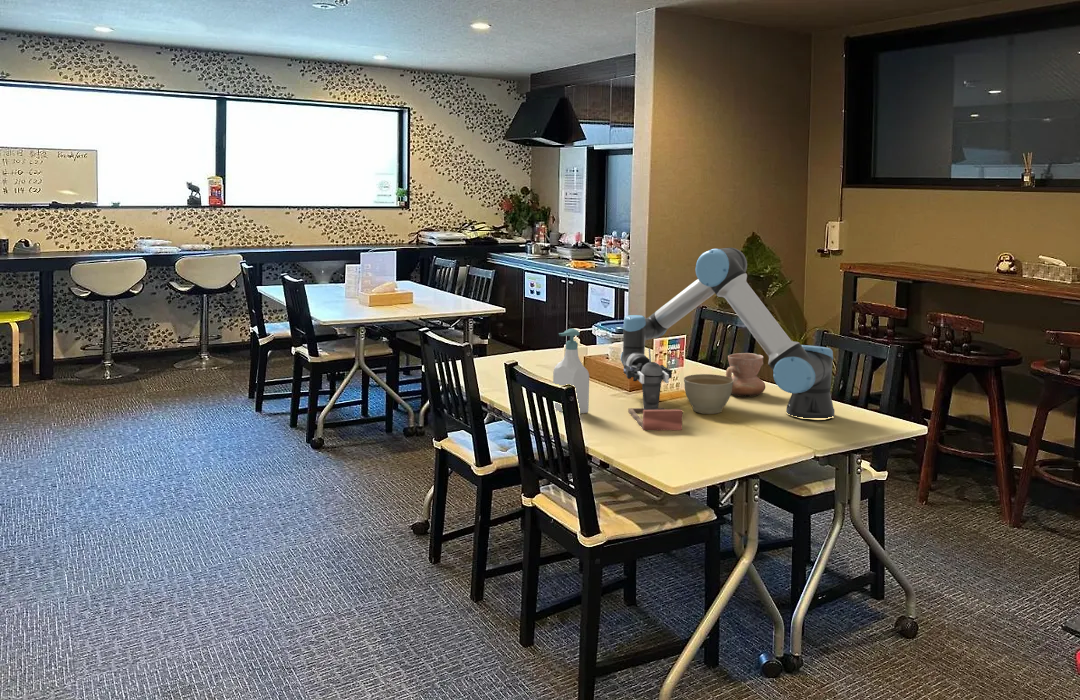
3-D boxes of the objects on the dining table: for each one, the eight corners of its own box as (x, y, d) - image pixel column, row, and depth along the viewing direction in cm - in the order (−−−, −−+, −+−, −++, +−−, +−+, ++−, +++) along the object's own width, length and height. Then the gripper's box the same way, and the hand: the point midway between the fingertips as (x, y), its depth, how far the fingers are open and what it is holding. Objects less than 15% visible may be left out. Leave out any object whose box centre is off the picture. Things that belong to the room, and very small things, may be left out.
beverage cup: (656, 413, 289) (658, 351, 285) (635, 410, 293) (637, 349, 289) (665, 408, 295) (667, 348, 292) (645, 405, 299) (647, 345, 295)
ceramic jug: (745, 387, 338) (746, 350, 336) (776, 394, 327) (777, 355, 324) (710, 394, 328) (711, 355, 326) (740, 402, 317) (741, 361, 314)
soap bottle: (548, 409, 302) (549, 327, 297) (568, 406, 306) (569, 325, 302) (568, 416, 293) (569, 332, 288) (588, 413, 298) (590, 330, 293)
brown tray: (628, 411, 300) (628, 394, 299) (663, 411, 301) (664, 393, 300) (643, 430, 277) (644, 411, 276) (681, 430, 278) (682, 410, 277)
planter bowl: (679, 404, 311) (681, 373, 309) (727, 405, 310) (729, 374, 308) (685, 416, 295) (686, 383, 293) (735, 417, 294) (737, 384, 293)
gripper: (668, 375, 311) (686, 390, 289) (610, 376, 309) (623, 391, 287) (668, 354, 310) (686, 367, 288) (610, 355, 308) (624, 368, 285)
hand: (655, 379), depth 287 cm, fingers closed on beverage cup, 7 cm apart
